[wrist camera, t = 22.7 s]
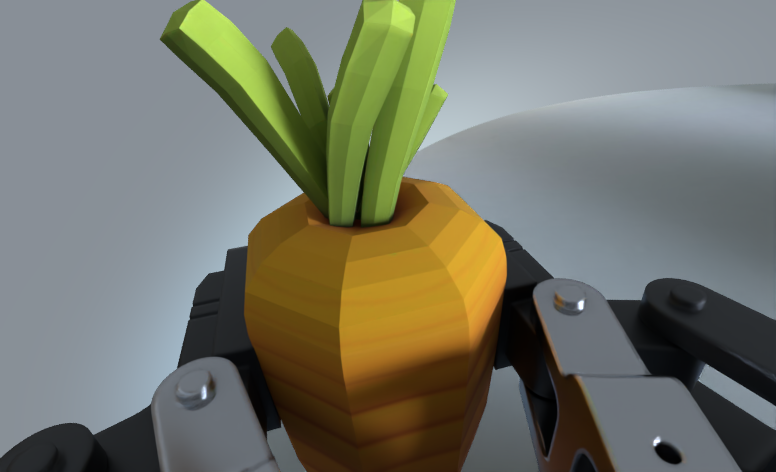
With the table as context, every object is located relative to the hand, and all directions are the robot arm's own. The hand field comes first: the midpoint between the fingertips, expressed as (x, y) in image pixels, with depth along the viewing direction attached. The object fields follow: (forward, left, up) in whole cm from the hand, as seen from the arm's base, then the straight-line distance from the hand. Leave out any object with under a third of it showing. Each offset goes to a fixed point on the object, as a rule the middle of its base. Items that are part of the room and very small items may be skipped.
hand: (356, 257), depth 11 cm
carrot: (-2, -2, -9) cm, 9 cm away
